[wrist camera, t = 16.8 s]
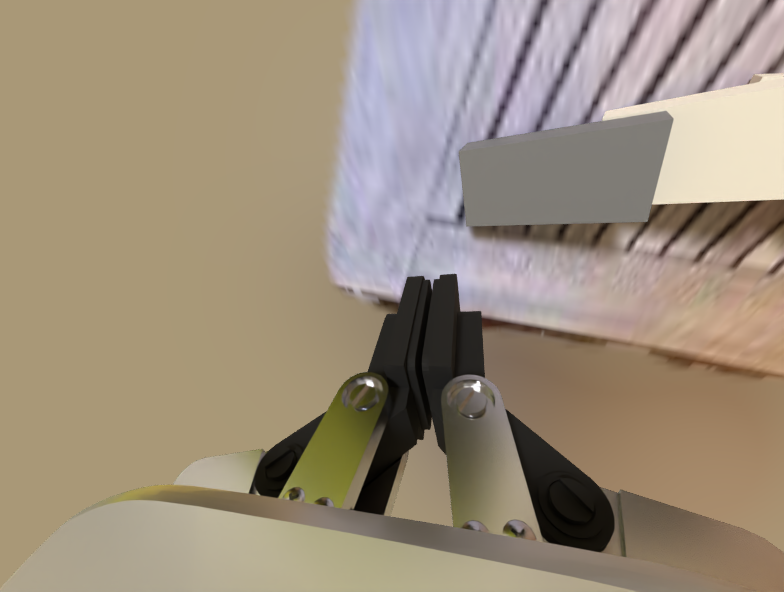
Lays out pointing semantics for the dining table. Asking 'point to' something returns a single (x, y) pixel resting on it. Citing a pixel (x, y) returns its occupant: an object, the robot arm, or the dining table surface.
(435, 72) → the dining table surface
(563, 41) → the dining table surface
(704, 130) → the ivory domino
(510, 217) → the slate domino
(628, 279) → the dining table surface
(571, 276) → the dining table surface
